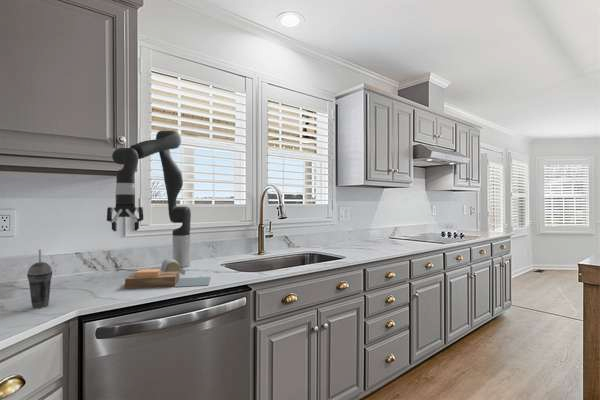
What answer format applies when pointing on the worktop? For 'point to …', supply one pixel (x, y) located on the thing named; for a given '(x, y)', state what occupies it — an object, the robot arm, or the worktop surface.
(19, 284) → the worktop surface
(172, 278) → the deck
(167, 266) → the ceramic mug
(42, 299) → the beverage cup
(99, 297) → the worktop surface
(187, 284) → the mat
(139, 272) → the orange tan rectangular block
